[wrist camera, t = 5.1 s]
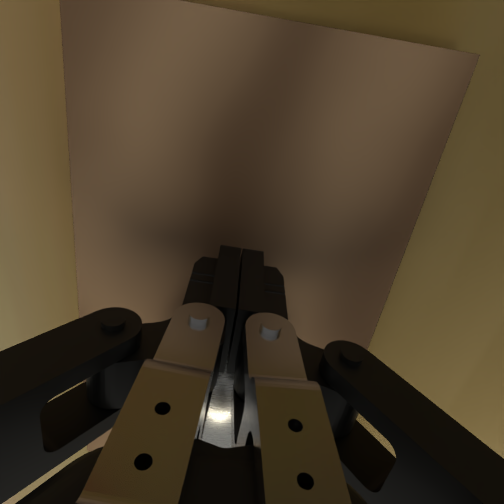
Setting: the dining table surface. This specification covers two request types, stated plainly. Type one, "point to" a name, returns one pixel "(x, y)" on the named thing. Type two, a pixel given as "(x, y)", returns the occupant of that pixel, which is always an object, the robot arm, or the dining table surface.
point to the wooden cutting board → (248, 155)
